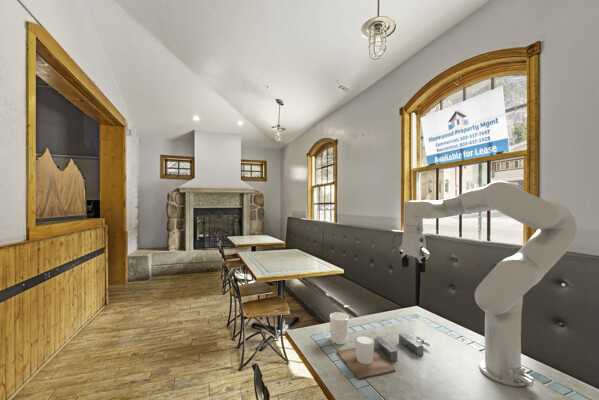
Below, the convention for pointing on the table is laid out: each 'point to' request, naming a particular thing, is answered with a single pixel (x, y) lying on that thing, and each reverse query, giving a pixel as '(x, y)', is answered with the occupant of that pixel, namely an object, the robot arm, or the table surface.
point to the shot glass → (364, 349)
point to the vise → (404, 340)
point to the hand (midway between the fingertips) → (413, 269)
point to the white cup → (339, 327)
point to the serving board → (365, 370)
